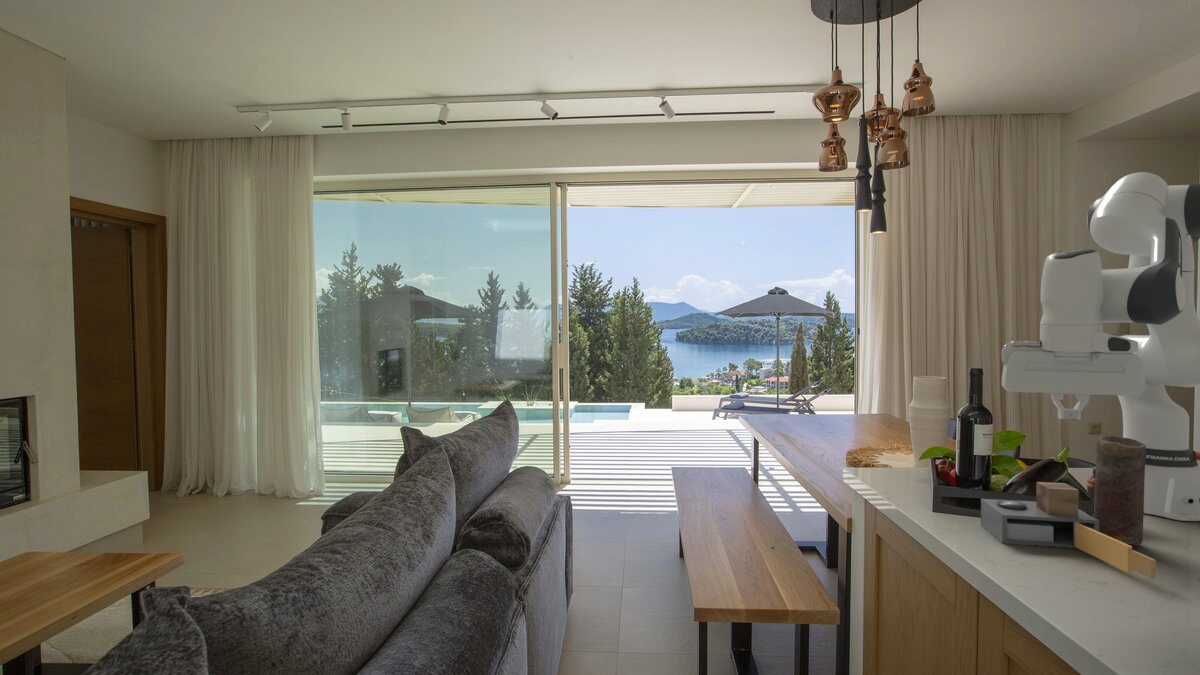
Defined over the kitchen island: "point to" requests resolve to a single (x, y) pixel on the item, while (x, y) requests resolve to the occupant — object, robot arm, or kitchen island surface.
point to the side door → (1112, 551)
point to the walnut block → (1057, 498)
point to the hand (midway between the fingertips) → (1069, 419)
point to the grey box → (1030, 523)
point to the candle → (1120, 488)
